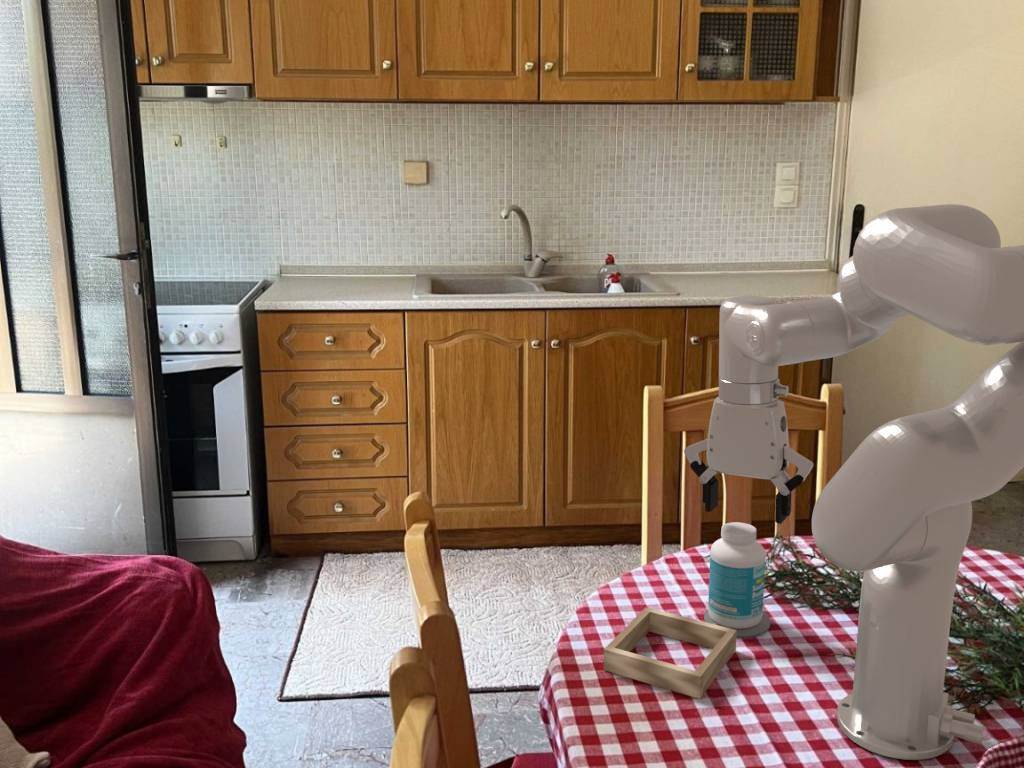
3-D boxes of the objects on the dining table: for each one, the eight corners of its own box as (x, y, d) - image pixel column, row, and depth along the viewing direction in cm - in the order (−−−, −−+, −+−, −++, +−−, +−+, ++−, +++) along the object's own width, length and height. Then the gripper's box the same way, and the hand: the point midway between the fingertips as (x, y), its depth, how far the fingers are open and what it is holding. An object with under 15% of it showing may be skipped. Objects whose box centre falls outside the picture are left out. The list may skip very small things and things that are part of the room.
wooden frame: (735, 650, 132) (736, 630, 131) (699, 698, 122) (700, 676, 121) (645, 626, 139) (646, 607, 138) (603, 670, 128) (603, 649, 127)
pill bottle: (762, 634, 135) (767, 541, 132) (706, 628, 137) (709, 537, 133) (762, 608, 142) (766, 519, 139) (709, 603, 144) (712, 516, 140)
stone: (778, 616, 141) (778, 612, 141) (757, 644, 134) (758, 640, 134) (717, 601, 146) (717, 597, 146) (694, 627, 138) (694, 623, 138)
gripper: (822, 391, 129) (818, 515, 133) (696, 379, 138) (695, 496, 142) (806, 404, 123) (802, 534, 127) (675, 391, 132) (674, 513, 136)
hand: (745, 514), depth 135 cm, fingers open, 9 cm apart
